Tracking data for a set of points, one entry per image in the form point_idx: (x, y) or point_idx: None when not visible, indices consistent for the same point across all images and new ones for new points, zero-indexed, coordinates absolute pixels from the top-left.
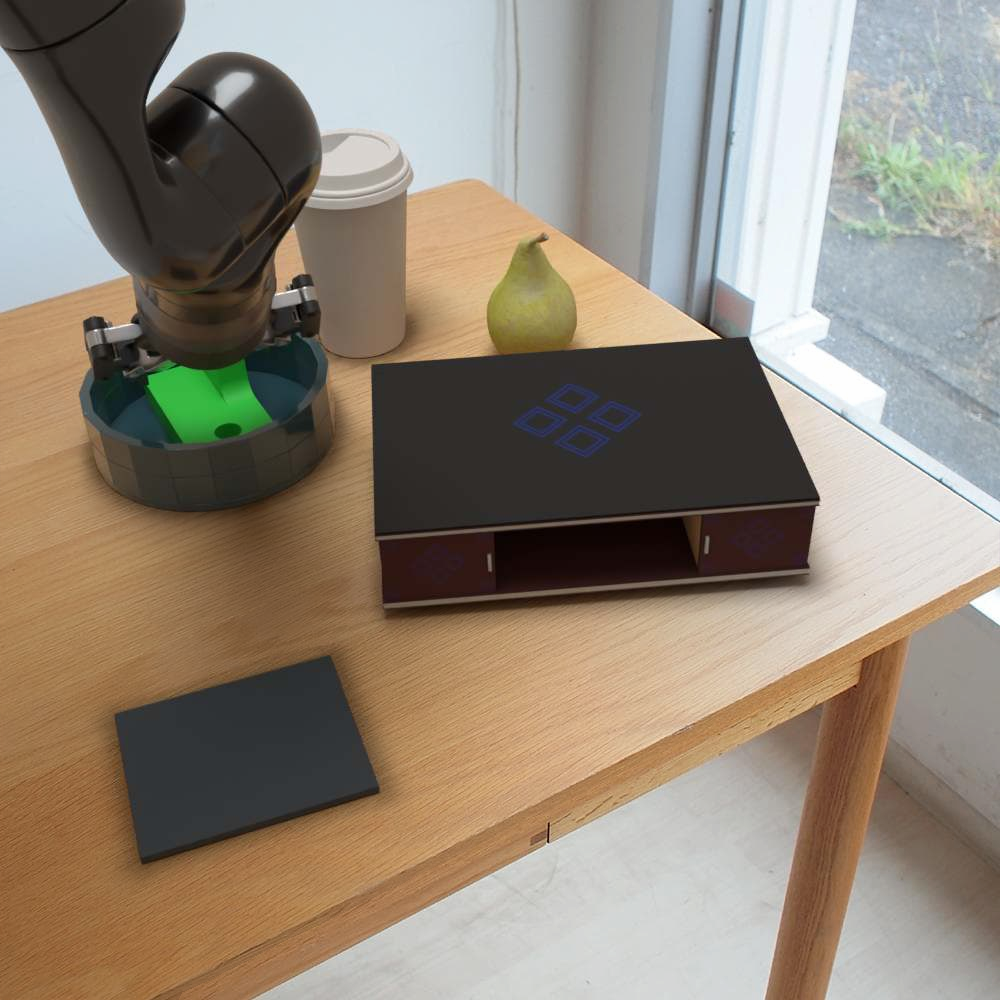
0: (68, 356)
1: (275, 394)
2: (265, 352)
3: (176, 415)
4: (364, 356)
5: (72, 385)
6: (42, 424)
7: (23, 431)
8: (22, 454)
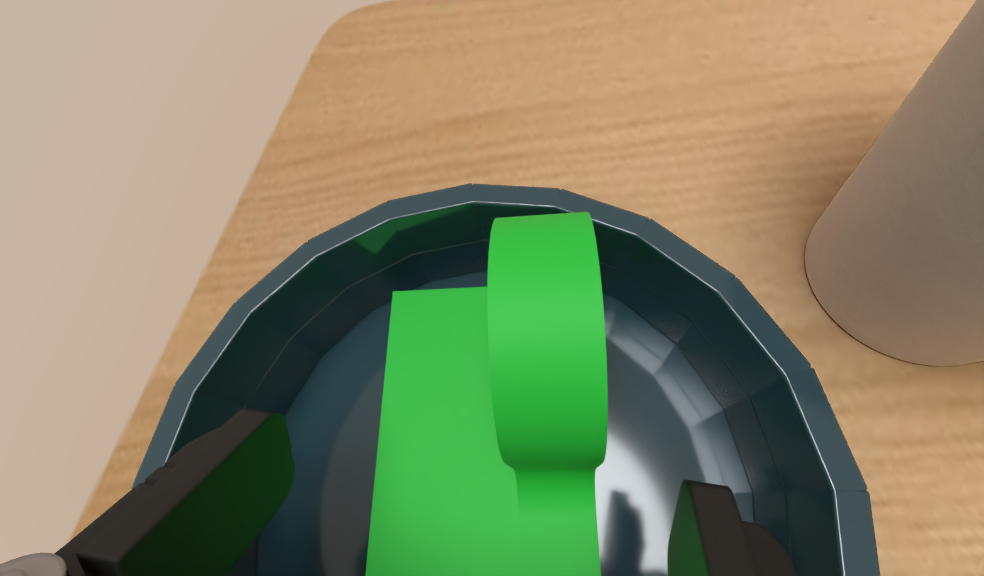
0: (364, 120)
1: (656, 423)
2: (672, 567)
3: (394, 486)
4: (902, 359)
5: (336, 195)
6: (250, 279)
7: (219, 284)
8: (186, 348)
